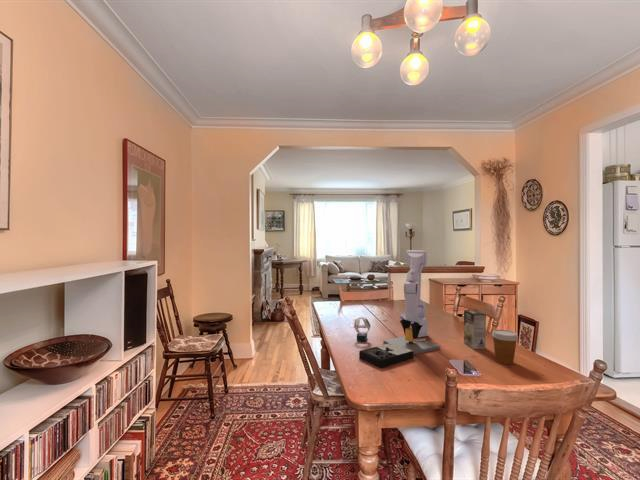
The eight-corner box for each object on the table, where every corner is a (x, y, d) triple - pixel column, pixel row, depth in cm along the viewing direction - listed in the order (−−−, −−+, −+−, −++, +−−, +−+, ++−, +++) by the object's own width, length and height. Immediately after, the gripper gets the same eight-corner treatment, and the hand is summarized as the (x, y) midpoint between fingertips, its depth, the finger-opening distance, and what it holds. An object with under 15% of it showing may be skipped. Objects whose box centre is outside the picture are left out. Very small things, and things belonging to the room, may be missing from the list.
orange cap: (411, 337, 160) (411, 327, 160) (418, 340, 156) (418, 329, 156) (403, 339, 158) (403, 328, 158) (410, 342, 153) (410, 331, 153)
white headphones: (368, 327, 190) (368, 320, 190) (357, 329, 186) (357, 322, 185) (358, 324, 197) (358, 317, 197) (347, 326, 193) (347, 319, 193)
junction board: (412, 338, 169) (412, 333, 169) (439, 349, 153) (439, 344, 153) (383, 343, 161) (383, 338, 161) (409, 355, 145) (409, 350, 145)
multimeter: (358, 359, 141) (358, 347, 141) (391, 350, 152) (391, 339, 152) (380, 369, 130) (380, 356, 130) (414, 359, 141) (414, 347, 141)
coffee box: (462, 342, 162) (463, 309, 162) (475, 342, 162) (476, 309, 162) (472, 349, 153) (473, 314, 153) (486, 349, 153) (486, 313, 153)
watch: (369, 342, 162) (369, 319, 162) (353, 340, 164) (353, 318, 164) (371, 339, 168) (371, 317, 167) (355, 337, 170) (355, 315, 170)
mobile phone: (467, 359, 139) (482, 374, 124) (467, 361, 139) (482, 376, 124) (448, 358, 139) (461, 373, 124) (448, 361, 139) (461, 376, 124)
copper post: (411, 342, 158) (411, 334, 158) (414, 343, 156) (414, 335, 156) (407, 342, 157) (407, 335, 157) (410, 343, 155) (410, 336, 155)
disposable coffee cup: (487, 357, 143) (487, 329, 143) (510, 357, 143) (510, 329, 142) (498, 365, 133) (498, 335, 133) (522, 366, 133) (523, 336, 133)
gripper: (394, 305, 161) (394, 333, 161) (415, 311, 148) (415, 342, 148) (405, 304, 164) (405, 332, 165) (427, 310, 151) (427, 340, 152)
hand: (411, 336), depth 157 cm, fingers closed on orange cap, 5 cm apart
